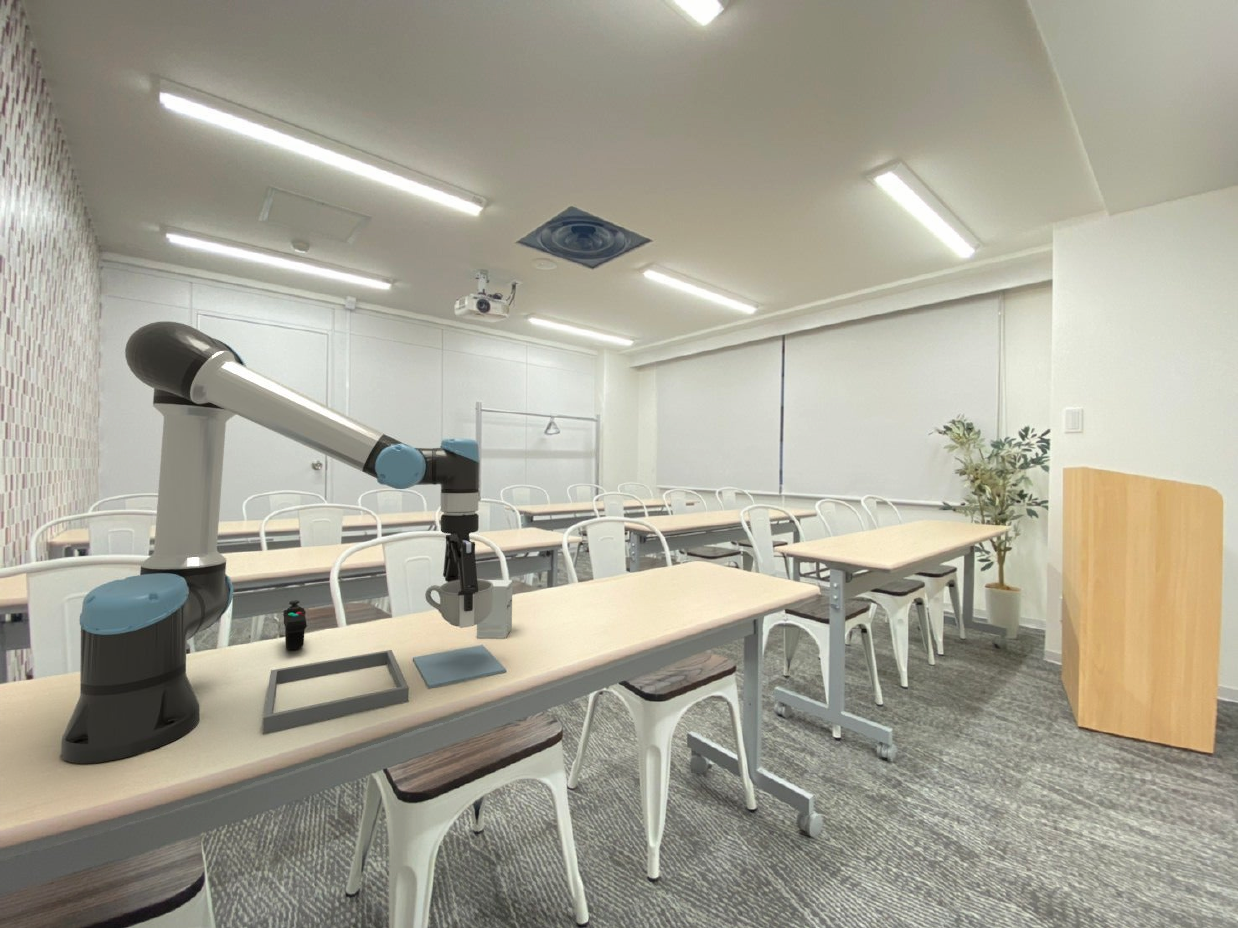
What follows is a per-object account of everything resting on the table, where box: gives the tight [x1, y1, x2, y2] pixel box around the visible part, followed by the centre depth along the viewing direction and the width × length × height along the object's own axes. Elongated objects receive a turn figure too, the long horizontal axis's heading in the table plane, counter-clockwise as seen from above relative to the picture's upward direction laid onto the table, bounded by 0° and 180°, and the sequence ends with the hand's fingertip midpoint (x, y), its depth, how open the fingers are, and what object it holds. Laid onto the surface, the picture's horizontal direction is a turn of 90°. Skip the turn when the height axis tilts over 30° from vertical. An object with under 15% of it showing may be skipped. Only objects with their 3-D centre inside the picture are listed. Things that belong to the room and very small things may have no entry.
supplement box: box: [476, 579, 513, 639], centre depth 125 cm, size 7×7×13 cm
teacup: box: [424, 578, 493, 628], centre depth 106 cm, size 14×11×8 cm
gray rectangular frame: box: [262, 649, 410, 735], centre depth 92 cm, size 21×21×2 cm
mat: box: [412, 644, 507, 690], centre depth 104 cm, size 15×16×1 cm
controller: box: [283, 599, 308, 651], centre depth 113 cm, size 4×12×10 cm, turn 36°
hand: (459, 618), depth 104 cm, fingers closed on teacup, 11 cm apart
